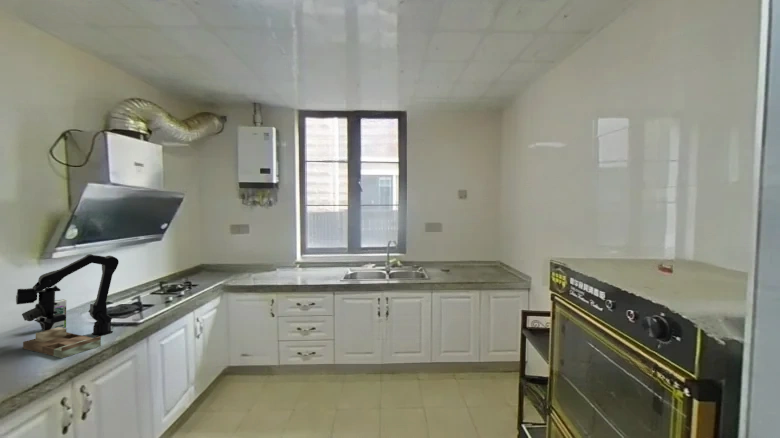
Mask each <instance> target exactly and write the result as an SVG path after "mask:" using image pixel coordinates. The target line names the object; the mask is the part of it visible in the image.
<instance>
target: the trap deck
mask: <svg viewBox="0 0 780 438" xmlns="http://www.w3.org/2000/svg"><path fill="white" fill-rule="evenodd" d="M35 340H36V338H31V339H28V340H25V341H23V342H22V349H24V350H28V351H31V352H36V353H40V354H45V355H49V356H52V357H55V358H61V359H64V358H66V357H67V358H68V357H70V356H73V355H76V354H77V355H78V354H79V353H83V352H86V351H90V350H92V349H95V348H99V347H101V345H102V343H101V342H102V341H101V340H102V336H99V335H98V336H97V337H90V336H86V335H81V334H77V333H71V332H67V331H66V336H64V337H60V338H57V339H53V340H49V341H46V342H39V341H35Z"/></svg>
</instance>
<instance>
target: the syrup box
mask: <svg viewBox="0 0 780 438" xmlns="http://www.w3.org/2000/svg"><path fill="white" fill-rule="evenodd" d="M55 302H56V303H57V305H55V311H57V313H56V314H59V313H60V314H64V315H66V316H67V300H66V299H63V298H58V299H55ZM53 315H55V314H53ZM58 327H61V328H66V327H67V319H66V320H65V321H60V322H56V323H54V324H53V326H52V328H51V329H54V328H58Z"/></svg>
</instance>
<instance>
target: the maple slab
mask: <svg viewBox="0 0 780 438" xmlns="http://www.w3.org/2000/svg"><path fill="white" fill-rule="evenodd" d="M66 332H67V328H66V327H64V328H61V327H58V328H54V329H50V330H46V331H43V330H42V331H39V332H35V339H36V340H35V341H39V342H46V341H49V340H53V339H57V338H60V337H64V336H66Z"/></svg>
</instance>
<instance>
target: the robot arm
mask: <svg viewBox="0 0 780 438" xmlns="http://www.w3.org/2000/svg"><path fill="white" fill-rule="evenodd" d="M90 264H97V265H101V271H102V272H101V273H102V274H101V277H100V282H99V287H98V291H97V295H96V300H95V301H94V303H90V304H89V310H88V313H89V315H90V317H92V319H93V320H95V322H93V324H94V325H93V328H92V331H93V332H92V333H91V335H95V336H98V337H99V336H101V337H102V336H105V335H108V334H111V333H113V332H114V331H113V330H112V320H113V318H112V317H111V316H110V315H109V314H108V313H107V312H108V311H107V310H108V308H107V299H108V295H109V291H110V287H111V283H112V279H113V275H114V273H115V272H116V270H117V269H118V265H119V259H118V258H117V257H116V256H112V255H106V256H104V255H103V256H102V255H94V254H89V253H88V254H86V255H85V256H84V257H82V258H79V259H77V260H76V261H73V262H71V263H69V264H68V265H65V266H64V267H61V268H59V269H56V270H53V271H49V272H46V273H43V274H41V275H40V276H39V278H38V280H37V282H36V283H35V284H34V285H33V286H32V287H31V288H17V290H16V295H15V303H16V305H25V304H33V303H35V302H36V301H37V300H38V303H36V304H35V305H34V308H30V309H29V310H27V311H25V312H23V313H22V314H21V316H22V318H23V320H24V321H27V322H33V321H34V322H36V323H38V324H39V325H40V328H41V330H42V331H46V330H50V329H51V328H52V326H53V324H54V323H56V322H60V321H65V320H66V321H67V314H66V315H64V314H60V313H59V314H56V313H57V311H55V305H57V303H56V302H55V300H56V292H60V291H61V288H60V287H58V286H57V284H59V283H60V282H61V281H62V280H63V279H64V278H65V277H68V276H69V275H72V274H73V273H75V272H77V271H79V270H81V269H83V268H84V267H87V266H89V265H90ZM53 314H55V315H53Z"/></svg>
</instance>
